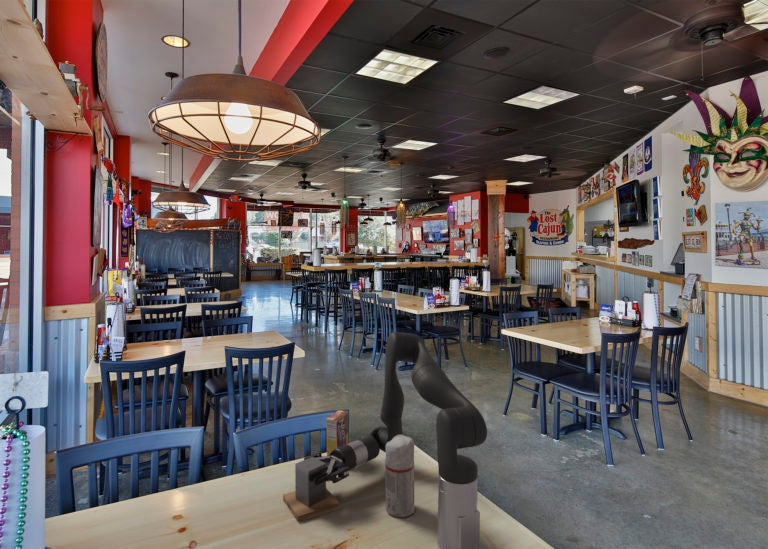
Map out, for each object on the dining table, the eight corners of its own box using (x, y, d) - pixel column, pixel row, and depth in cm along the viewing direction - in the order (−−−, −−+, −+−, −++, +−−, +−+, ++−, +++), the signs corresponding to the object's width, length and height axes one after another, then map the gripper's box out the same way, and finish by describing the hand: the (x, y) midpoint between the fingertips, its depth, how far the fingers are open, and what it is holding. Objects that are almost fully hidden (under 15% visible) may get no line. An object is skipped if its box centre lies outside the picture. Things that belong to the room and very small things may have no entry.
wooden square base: (339, 508, 121) (339, 479, 120) (297, 522, 114) (297, 491, 114) (322, 488, 131) (322, 461, 131) (283, 499, 125) (282, 471, 124)
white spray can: (412, 521, 115) (413, 446, 114) (382, 517, 117) (382, 443, 116) (417, 503, 123) (417, 433, 122) (388, 499, 125) (388, 430, 124)
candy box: (337, 452, 155) (337, 409, 154) (348, 454, 153) (348, 411, 153) (325, 463, 146) (325, 418, 146) (337, 465, 145) (337, 420, 144)
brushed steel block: (325, 498, 123) (325, 463, 122) (308, 507, 118) (308, 471, 118) (312, 490, 127) (312, 456, 126) (295, 498, 123) (295, 463, 122)
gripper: (334, 437, 137) (290, 454, 126) (365, 452, 127) (321, 471, 116) (334, 461, 138) (290, 480, 126) (365, 477, 128) (321, 499, 116)
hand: (305, 476), depth 121 cm, fingers open, 8 cm apart
